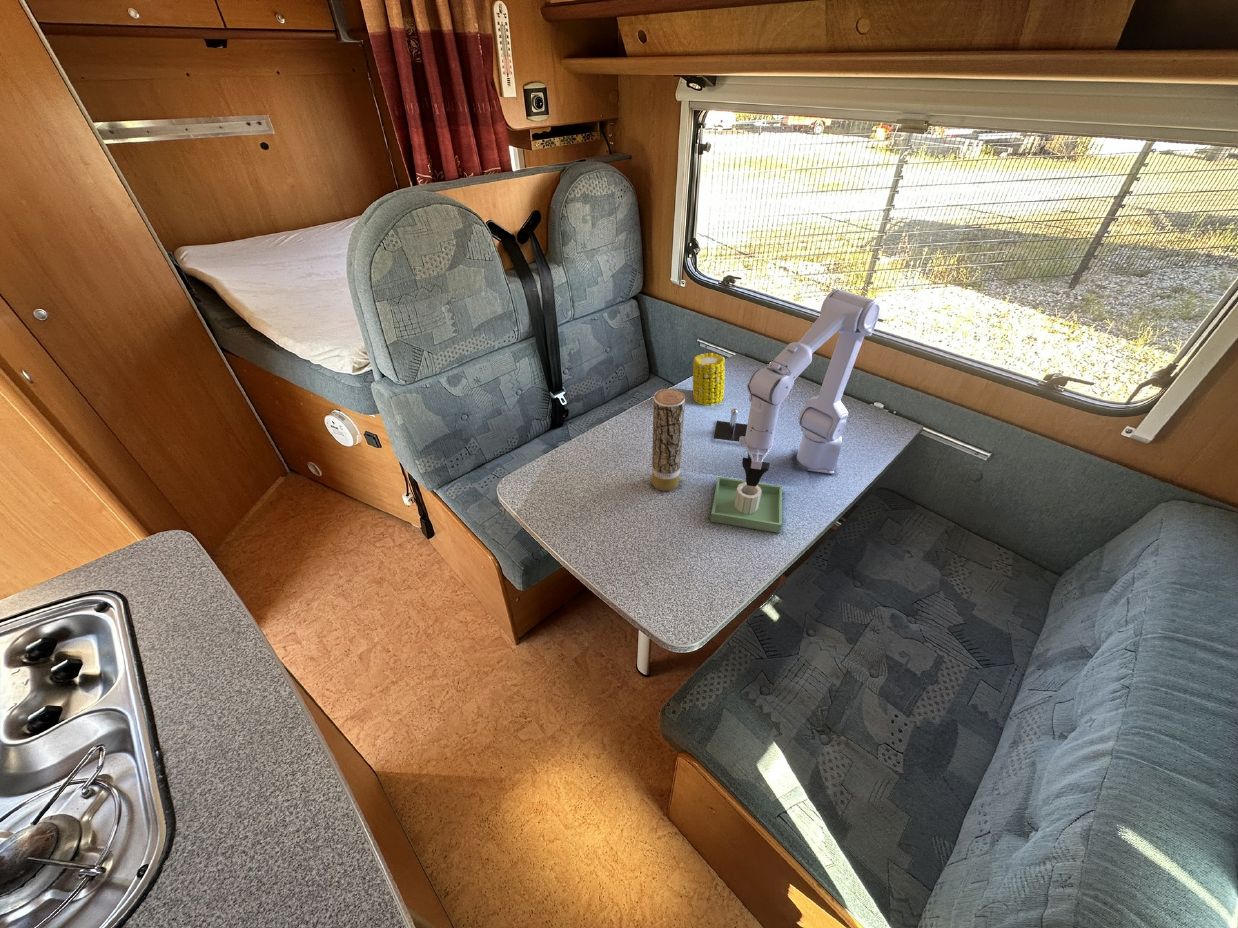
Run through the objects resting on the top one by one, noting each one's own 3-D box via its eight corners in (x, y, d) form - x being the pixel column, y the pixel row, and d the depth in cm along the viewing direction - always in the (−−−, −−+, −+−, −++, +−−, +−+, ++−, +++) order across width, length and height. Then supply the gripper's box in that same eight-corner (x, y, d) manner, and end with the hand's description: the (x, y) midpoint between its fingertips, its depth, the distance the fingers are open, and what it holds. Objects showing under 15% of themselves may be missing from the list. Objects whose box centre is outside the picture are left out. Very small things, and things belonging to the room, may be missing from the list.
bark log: (677, 493, 119) (683, 406, 104) (649, 490, 120) (651, 403, 105) (680, 476, 124) (686, 390, 109) (653, 473, 126) (656, 387, 110)
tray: (780, 493, 118) (782, 486, 117) (779, 533, 109) (781, 525, 107) (716, 484, 122) (717, 476, 120) (710, 521, 112) (711, 513, 110)
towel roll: (758, 500, 116) (761, 484, 113) (757, 515, 112) (760, 499, 109) (735, 496, 117) (738, 480, 114) (733, 511, 113) (736, 495, 110)
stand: (748, 427, 141) (752, 402, 135) (746, 445, 134) (750, 420, 129) (716, 423, 142) (719, 398, 137) (713, 441, 136) (716, 416, 131)
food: (705, 415, 149) (687, 401, 156) (737, 398, 151) (717, 385, 158) (698, 373, 139) (679, 360, 146) (732, 355, 141) (711, 343, 148)
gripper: (744, 403, 108) (736, 452, 117) (739, 441, 97) (731, 492, 106) (777, 407, 107) (767, 456, 115) (776, 446, 96) (765, 497, 104)
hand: (752, 474), depth 111 cm, fingers open, 7 cm apart
